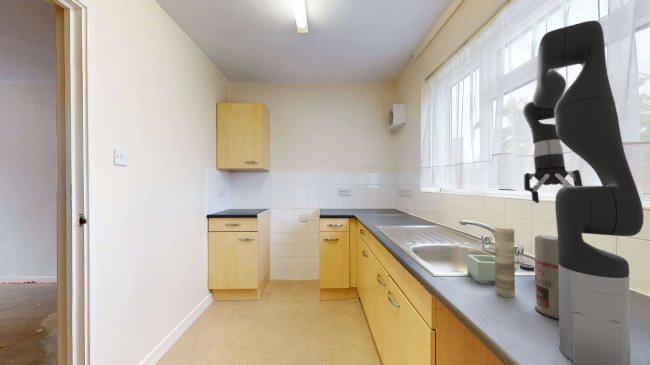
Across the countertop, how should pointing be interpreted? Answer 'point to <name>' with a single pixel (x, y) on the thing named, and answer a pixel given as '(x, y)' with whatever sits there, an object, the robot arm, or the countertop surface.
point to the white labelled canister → (547, 275)
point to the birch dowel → (504, 262)
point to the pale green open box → (482, 268)
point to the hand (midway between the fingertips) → (553, 202)
